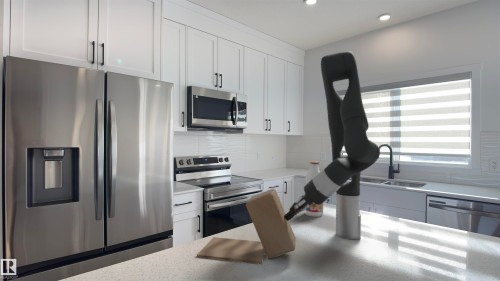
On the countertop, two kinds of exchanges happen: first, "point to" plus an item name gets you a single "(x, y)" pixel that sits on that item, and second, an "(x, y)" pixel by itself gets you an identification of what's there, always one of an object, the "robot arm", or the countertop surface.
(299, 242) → the countertop surface
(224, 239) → the cutting board
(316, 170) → the fruit juice
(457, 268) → the countertop surface
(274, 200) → the block
